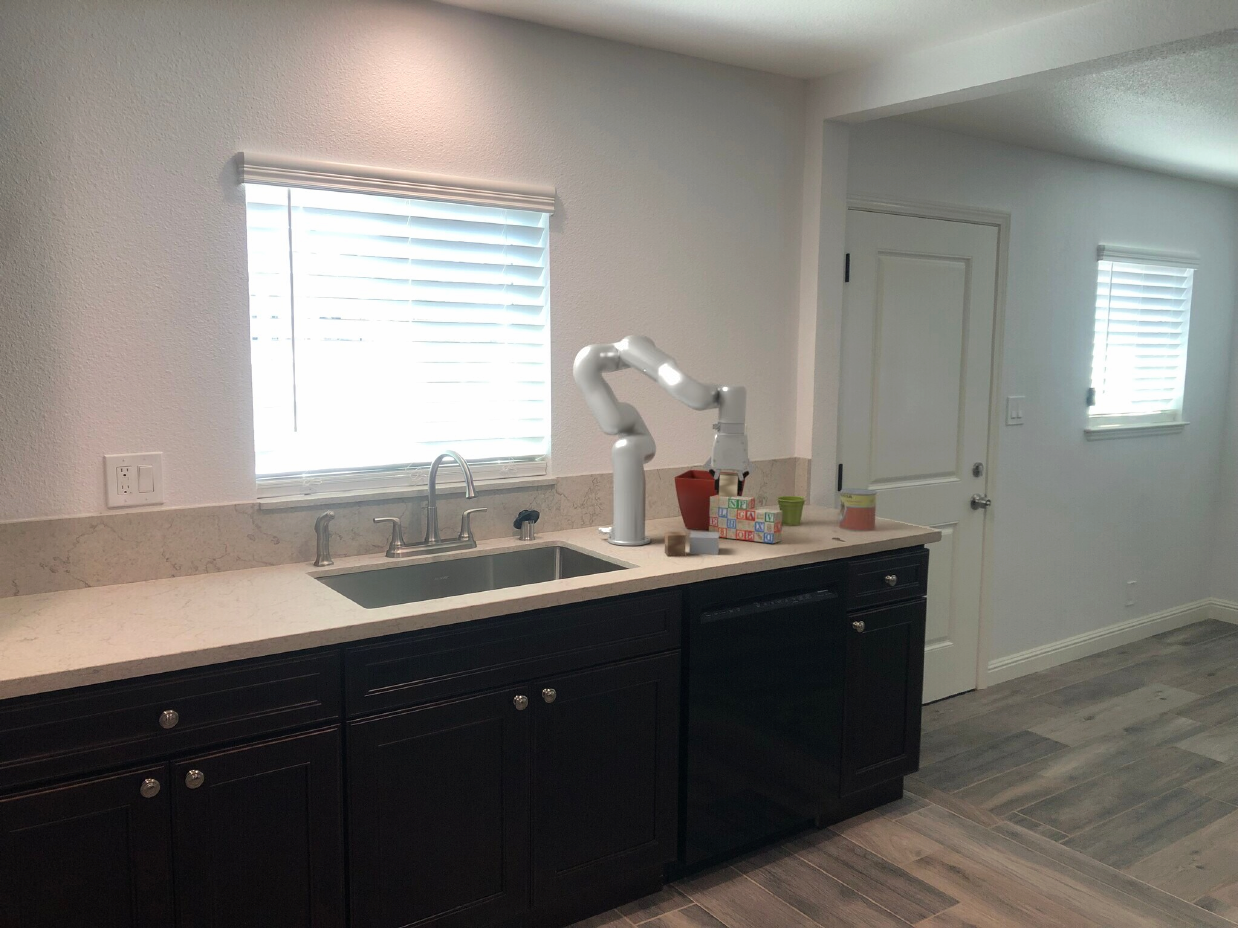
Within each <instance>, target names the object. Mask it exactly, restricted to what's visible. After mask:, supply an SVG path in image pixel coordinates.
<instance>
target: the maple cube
mask: <svg viewBox="0 0 1238 928" xmlns="http://www.w3.org/2000/svg"><path fill="white" fill-rule="evenodd" d="M734 473H735V472H732V473H720V482H719V497H736V498H737V484H738V474H734Z"/></svg>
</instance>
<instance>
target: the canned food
mask: <svg viewBox="0 0 1238 928" xmlns="http://www.w3.org/2000/svg"><path fill="white" fill-rule="evenodd" d="M839 492H840V497H839V519H838V521H839V523H838V524H839V525H838V528H839V529H840V530H843V531H849V532H859V533H860V532H865V533H866V532H872V531H875V530H876V511H877V509H876V508H877V507H876V506H877V491H876V490H872V489H867V488H844V489H841V490H840V491H839Z"/></svg>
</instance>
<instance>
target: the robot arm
mask: <svg viewBox="0 0 1238 928" xmlns="http://www.w3.org/2000/svg"><path fill="white" fill-rule="evenodd" d="M632 368H634V369H635V370H636V371H638V372H640V374H643V375H644V376H646V377H647V378H648V379H650V380H652V381H653V382H656V383H657V384H658V385H659V387H660V388H662V389H663V390H664V391H665V392H666V393H667V394H668V395H670V396H672V398H674V399H675V400H677V401H678V402H681V403H682V404H683V405H685V406H687V407H688V408H690V409H692V410H695V411H698V412H699V411H700V412H702V411H706V410H713V409H718V410H717V411H718V413H717V414H718V415H717V423H713V424H712V430H716V431H717V432H715V433H714V434H713V435H714V436H713V439H712V446H711V447H712V448H711V456H710V457H709V458H708V460H707V461H706V462H705V463H704V464H703V465H702V467H703V469H704V470H705V471H708V472H709V473H710V474H711V475H712V476H713V477H714V479H715V488H714V490H717V494H718V493H719V482H720V478H719V474H720V472H722V471H736V473H738V476H739V477H738V484H737V495H739V491H742V480H743V479H745V480H746V478H747V477H748V476H749V475H750V474H752V473H753V472H755V471H756V466H755V465H754V464H753V463H752V461H751V460H750V458H749V438H748V435H747V434H745V429H746V411H747V388H746V387H745V386H744V385H739V384H721V383H716V382H715V383H714V382H699V381H698V380H696V379H695V378H693V377H692V376H690V375H688V374H687V373H685V372H684V371H683V370H682V369H681V368H680V367H679V366H678V363H677V360H676V359H675V358H674V357H673V356H672V355H670V354H668V353H667V352H665V351H663V350H662V349H660V348H658V347H657V346H656V343H655V341H654V340H653V339H652V338H650V337H648V336H647V335H642V334H641V335H640V334H639V335H638V334H637V335H636V334H631V335H627V336H624V337H623V338H622V339H621V340H620V341H618V342H612V343H603V344H602V343H597V344H596V343H594V344H589V345H586V346H584V347H583V348H582V349H580V350H579V352H578V353H577V355H576V356H575V359H574V361H573V367H572V373H573V374H572V375H573V379H574V382H575V384H576V387H577V388H578V390H579V392H580V394H581V395H582V397H583V398H584V400H585V403H586V404H587V406H588V408H589V410H590V412H591V413H592V415H593V417H594V419H595V421H596V423H597V426H598V427H599V428H600V430H601V432H602V433H604V434H605V435H607V436H618V438H619V439H617V440H616V441H615V442H614V444H613V445H612V448H611V451H610V457H611V458H610V460H611V467H612V478H613V487H612V488H613V489H612V490H613V492H612V493H613V497H612V498H613V504H612V505H613V513H612V515H613V516H612V517H613V518H612V519H613V520H612V523H613V524H612V526H609V527H606V526H599V527H598V534H601V535H608V537H607V542H608V543H609V544H612V545H617V546H628V547H630V546H631V547H634V546H636V547H637V546H643V545H647V544H649V543H650V542H651V537H650V536H648V535H646V497H647V495H646V494H647V493H646V491H647V490H646V488H647V485H646V484H647V483H646V472H645V465H646V464H648V463H650V462H651V461H653V459H654V458H655V456H656V453H657V444H656V442H655V440H654V439H655V438H654V437H653V435H652V433H651V432H650V430H649V428H648V426H647V424H646V422H645V421H644V419H643V417H642V415H641V414H640V411H638V409H637V408H636V407H635V406H634V405H633V404H632V403H631V404H630V403H628V402H625V401H619V399H618V398H617V396H616V394H615V393H614V391H613V388H612V387H611V385H610V384H609V382H608V381H607V380H606V379H605V378H604V376H603V374H605V373H606V374H608V373H614V372H618V371H622V370H626V369H632ZM710 466H711V467H710ZM747 468H748V469H747ZM721 470H722V471H721ZM715 471H716V472H715ZM743 471H744V472H743Z"/></svg>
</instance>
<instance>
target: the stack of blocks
mask: <svg viewBox="0 0 1238 928" xmlns="http://www.w3.org/2000/svg"><path fill="white" fill-rule="evenodd" d="M755 502H756V498H755V497H748V496H742V497H740V496H737V498H736V497H719V495H715V496H711V497H710V521H709V530H708V532H719V538H724V539H725V538H727V539H733V540H742V541H751V542H758V543H767V544H777V543H778V542H781V541H782V511H780V509H779V510H778V509H769V508H762V507H756V506H755V505H756V503H755Z"/></svg>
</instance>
